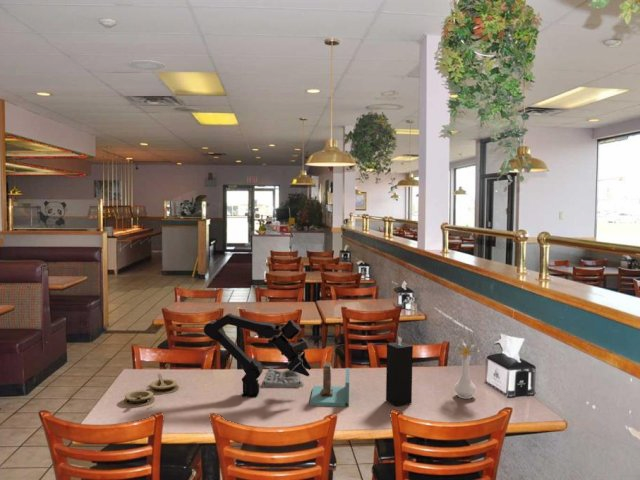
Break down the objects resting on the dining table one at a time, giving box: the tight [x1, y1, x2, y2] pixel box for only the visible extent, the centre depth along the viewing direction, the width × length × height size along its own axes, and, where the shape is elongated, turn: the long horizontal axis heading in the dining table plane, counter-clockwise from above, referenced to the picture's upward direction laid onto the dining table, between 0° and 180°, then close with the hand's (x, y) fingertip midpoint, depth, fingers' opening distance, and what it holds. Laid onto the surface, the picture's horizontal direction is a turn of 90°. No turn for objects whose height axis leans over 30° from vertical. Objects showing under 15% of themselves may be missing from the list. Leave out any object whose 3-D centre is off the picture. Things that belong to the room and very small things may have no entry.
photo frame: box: [321, 361, 333, 396], centre depth 236 cm, size 5×6×13 cm
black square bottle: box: [385, 335, 414, 407], centre depth 231 cm, size 8×8×28 cm
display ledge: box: [309, 367, 350, 408], centre depth 236 cm, size 16×20×10 cm
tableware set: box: [121, 373, 180, 411], centre depth 238 cm, size 30×20×6 cm, turn 158°
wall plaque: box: [261, 368, 305, 389], centre depth 260 cm, size 24×19×4 cm
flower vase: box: [449, 338, 483, 400], centre depth 239 cm, size 13×18×25 cm
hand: (309, 372), depth 237 cm, fingers open, 9 cm apart
